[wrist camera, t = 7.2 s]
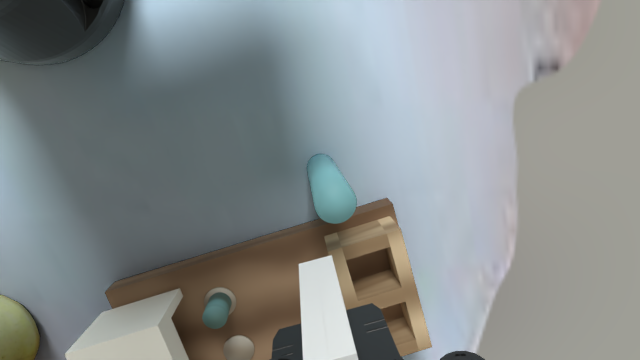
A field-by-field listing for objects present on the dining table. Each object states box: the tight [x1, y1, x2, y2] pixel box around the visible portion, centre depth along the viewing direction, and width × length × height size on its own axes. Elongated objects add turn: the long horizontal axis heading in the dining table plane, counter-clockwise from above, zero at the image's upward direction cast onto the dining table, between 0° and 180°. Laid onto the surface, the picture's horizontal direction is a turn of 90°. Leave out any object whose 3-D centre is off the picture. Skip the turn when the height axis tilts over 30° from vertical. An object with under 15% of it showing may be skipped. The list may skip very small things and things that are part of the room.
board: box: [105, 198, 432, 360], centre depth 34 cm, size 13×26×6 cm, turn 107°
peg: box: [307, 154, 357, 224], centre depth 29 cm, size 2×2×12 cm
